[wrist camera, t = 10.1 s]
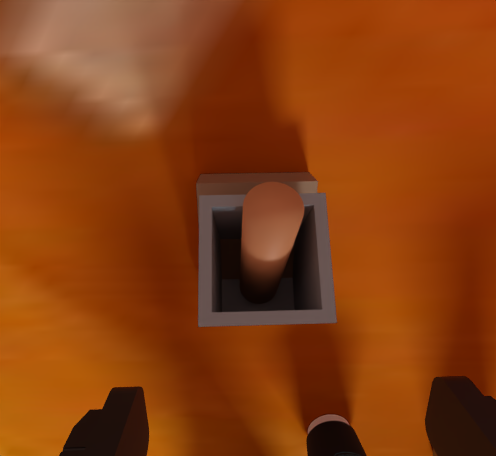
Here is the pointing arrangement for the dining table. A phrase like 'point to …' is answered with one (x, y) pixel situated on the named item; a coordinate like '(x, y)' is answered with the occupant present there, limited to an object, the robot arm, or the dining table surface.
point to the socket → (229, 255)
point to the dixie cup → (333, 437)
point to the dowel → (267, 238)
